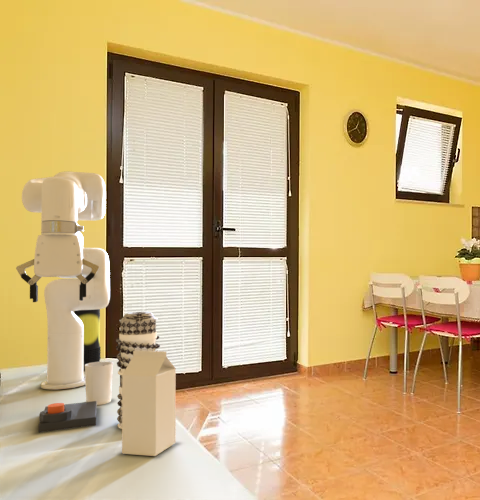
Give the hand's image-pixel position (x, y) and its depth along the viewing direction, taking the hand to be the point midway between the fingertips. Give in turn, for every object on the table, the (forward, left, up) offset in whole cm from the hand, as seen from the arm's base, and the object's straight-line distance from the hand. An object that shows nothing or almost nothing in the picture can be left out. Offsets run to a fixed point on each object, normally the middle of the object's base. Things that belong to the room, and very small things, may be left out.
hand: (58, 301), depth 123 cm
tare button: (+10, 0, -24) cm, 26 cm away
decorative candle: (+16, +17, -27) cm, 36 cm away
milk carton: (+34, +18, -27) cm, 47 cm away
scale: (+5, +3, -27) cm, 28 cm away
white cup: (-8, +9, -27) cm, 30 cm away
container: (-59, +4, -27) cm, 66 cm away
